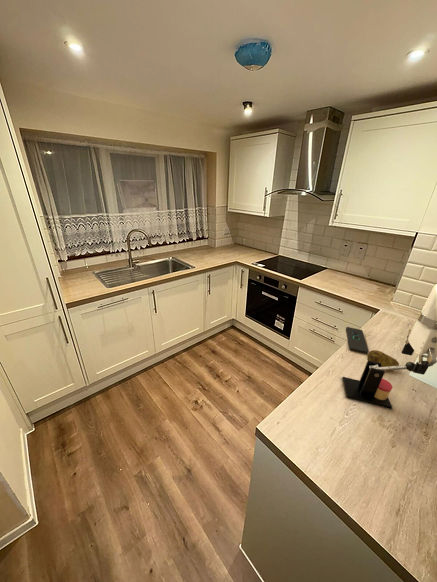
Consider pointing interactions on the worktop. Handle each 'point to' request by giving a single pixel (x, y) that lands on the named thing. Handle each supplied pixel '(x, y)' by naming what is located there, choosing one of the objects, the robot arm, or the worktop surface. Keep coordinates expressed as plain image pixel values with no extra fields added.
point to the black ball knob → (396, 367)
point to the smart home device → (356, 340)
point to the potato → (382, 359)
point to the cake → (383, 390)
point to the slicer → (366, 386)
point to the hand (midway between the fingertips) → (411, 363)
